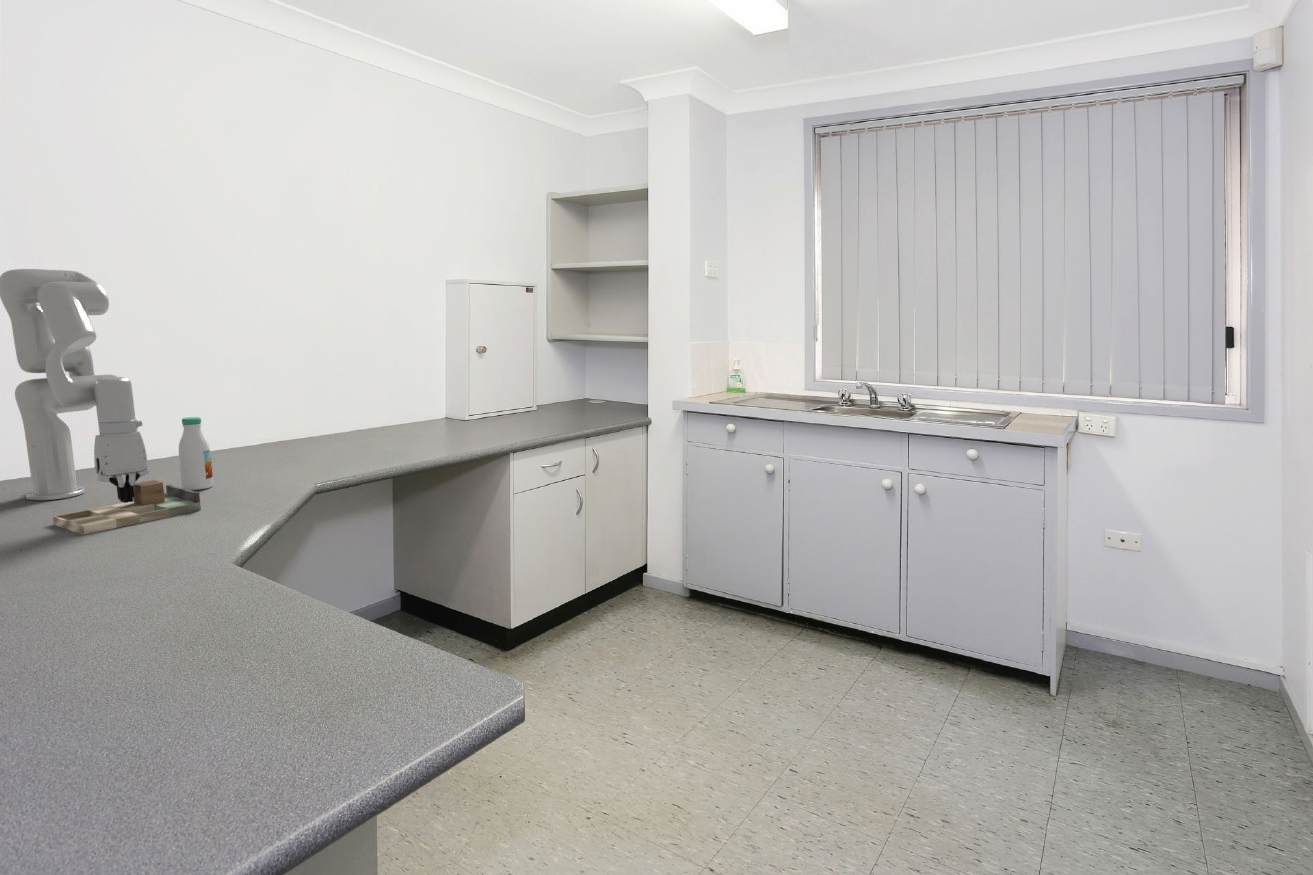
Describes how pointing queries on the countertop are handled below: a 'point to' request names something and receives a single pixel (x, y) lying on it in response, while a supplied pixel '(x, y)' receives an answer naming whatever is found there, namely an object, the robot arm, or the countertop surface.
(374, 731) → the countertop surface
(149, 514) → the trap board
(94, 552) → the countertop surface
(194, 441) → the milk bottle
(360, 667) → the countertop surface
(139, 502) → the walnut block
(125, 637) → the countertop surface
